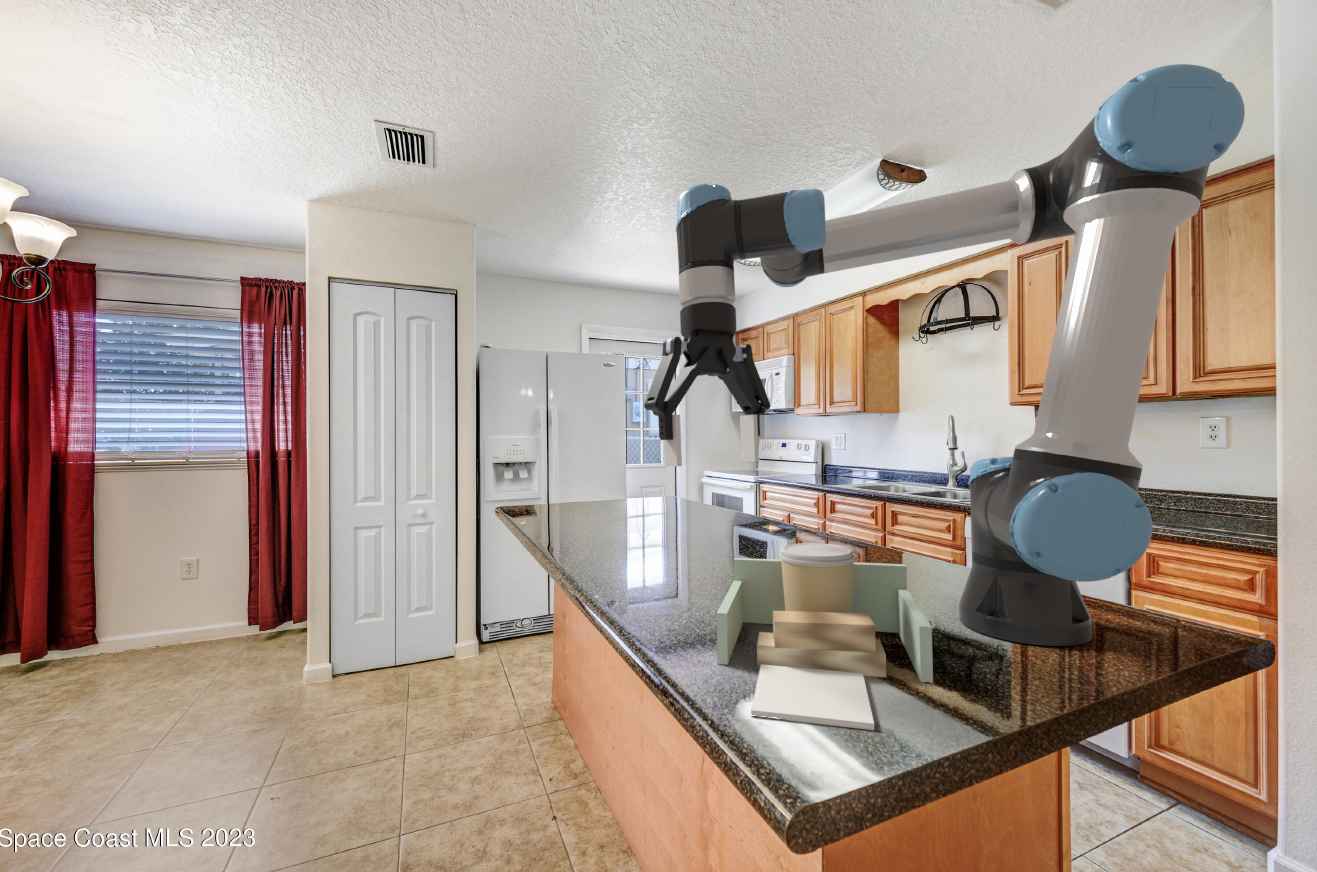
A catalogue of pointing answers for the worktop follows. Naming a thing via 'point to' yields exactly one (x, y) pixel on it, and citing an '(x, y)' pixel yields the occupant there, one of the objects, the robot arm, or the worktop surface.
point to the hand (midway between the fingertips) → (713, 463)
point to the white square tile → (813, 696)
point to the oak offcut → (823, 631)
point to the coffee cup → (817, 577)
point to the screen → (873, 594)
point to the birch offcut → (822, 658)
